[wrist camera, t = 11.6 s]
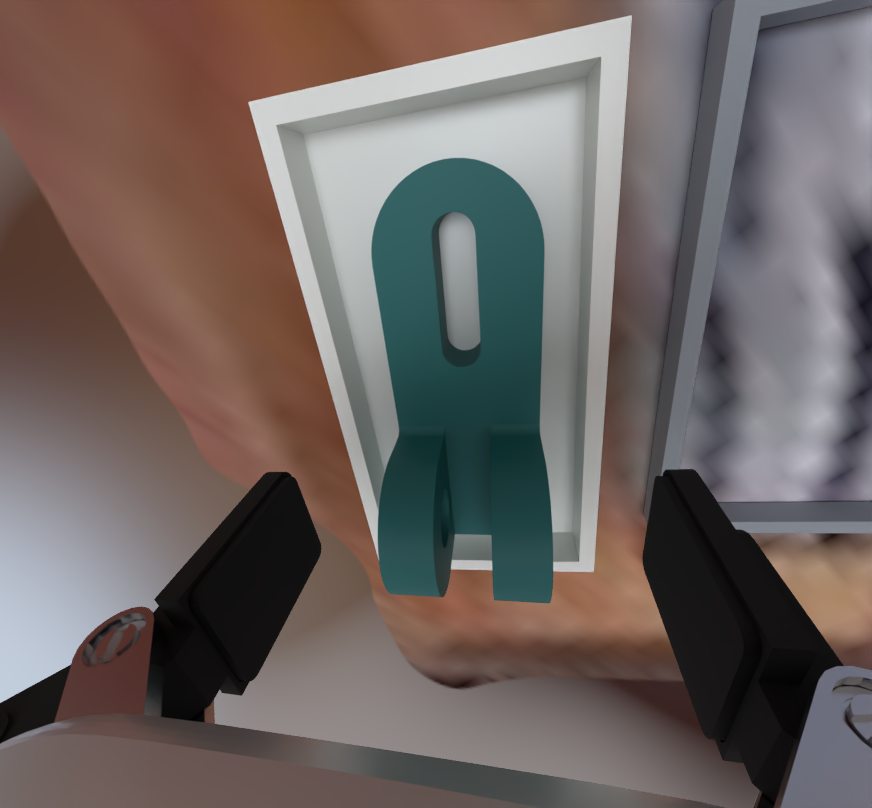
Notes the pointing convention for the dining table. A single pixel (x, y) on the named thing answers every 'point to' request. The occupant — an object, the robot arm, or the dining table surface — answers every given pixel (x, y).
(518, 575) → the bracket
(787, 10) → the grey rectangular frame
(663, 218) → the dining table surface
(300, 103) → the parts tray
